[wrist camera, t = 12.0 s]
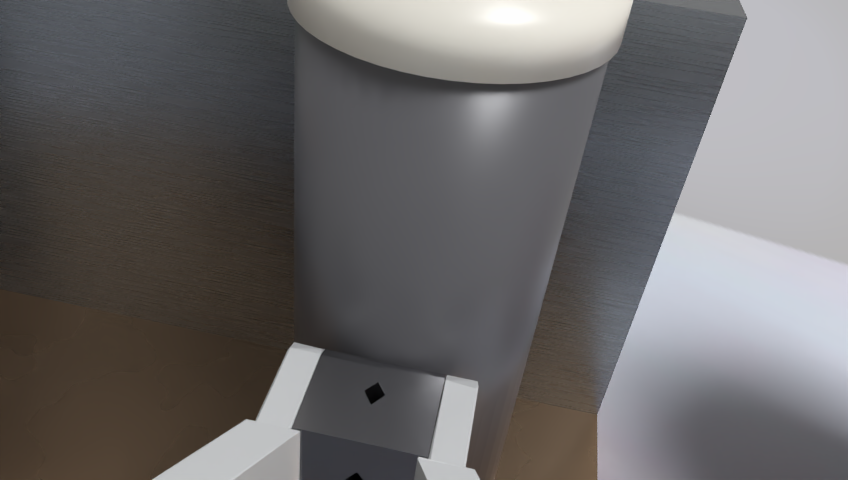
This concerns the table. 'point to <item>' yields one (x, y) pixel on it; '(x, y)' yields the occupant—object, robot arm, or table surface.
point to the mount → (270, 228)
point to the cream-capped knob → (440, 179)
